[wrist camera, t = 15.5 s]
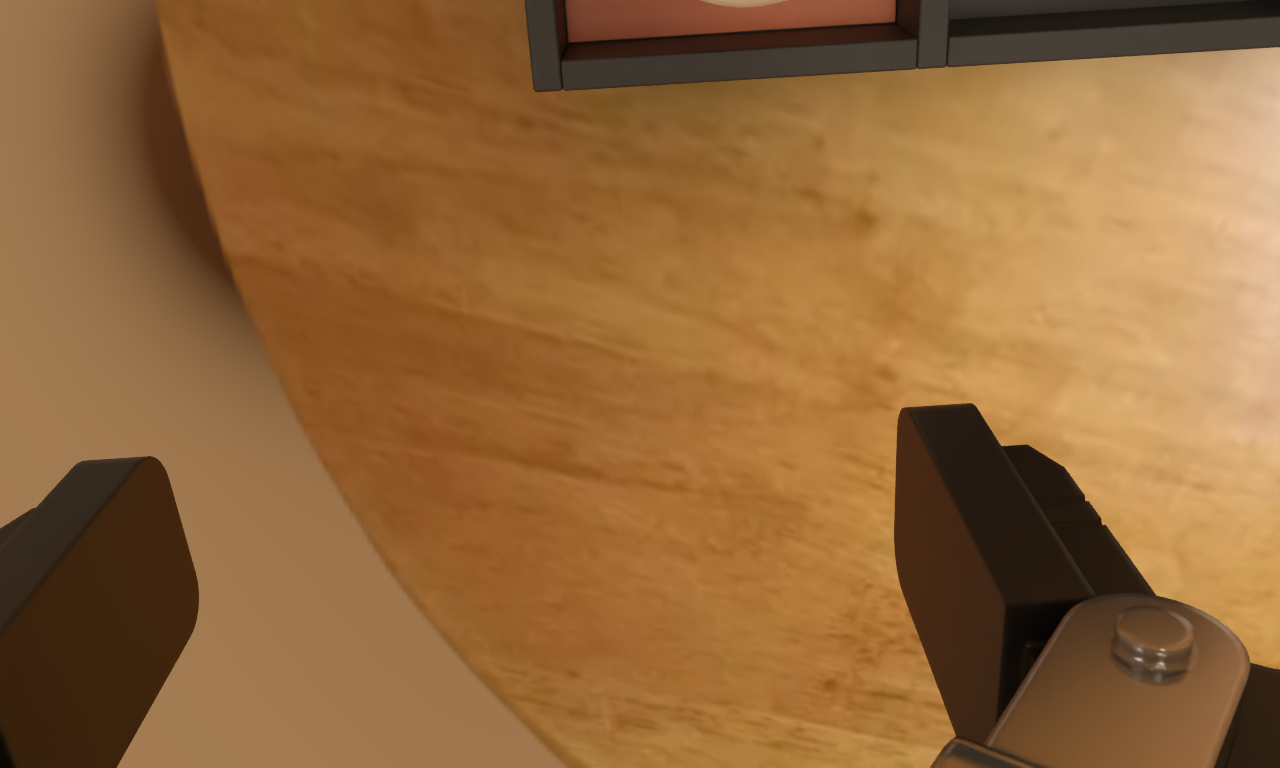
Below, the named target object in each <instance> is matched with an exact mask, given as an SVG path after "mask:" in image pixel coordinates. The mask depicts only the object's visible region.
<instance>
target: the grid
mask: <svg viewBox="0 0 1280 768" xmlns="http://www.w3.org/2000/svg"><path fill="white" fill-rule="evenodd" d="M525 9H526V19H527V29H528V39H529V49H530V59H531V69H532V79H533V89H534V91H535V92H548V91H560V90H562V89H564V90H565V91H568V90H585V89H601V88H617V87H634V86H650V85H666V84H683V83H699V82H715V81H732V80H748V79H764V78H781V77H797V76H813V75H830V74H846V73H863V72H879V71H895V70H912V69H916V68H918V69H927V68H943V67H946V66H947V67H960V66H977V65H993V64H1009V63H1026V62H1042V61H1058V60H1075V59H1091V58H1107V57H1124V56H1140V55H1157V54H1173V53H1189V52H1206V51H1222V50H1238V49H1255V48H1271V47H1280V0H787V1H783V2H779V3H776V4H772V5H766V6H760V7H746V8H738V7H728V6H721V5H715V4H711V3H707V2H704V1H701V0H525Z"/></svg>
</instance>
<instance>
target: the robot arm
mask: <svg viewBox="0 0 1280 768" xmlns="http://www.w3.org/2000/svg"><path fill="white" fill-rule="evenodd" d="M894 545H895V557H896V565H897V572H898V577H899V582H900V586H901V589H902V592H903V595H904V598H905V600H906V603H907V606H908V608H909V611H910V614H911V616H912V619H913V622H914V624H915V627H916V630H917V632H918V635H919V638H920V640H921V643H922V646H923V648H924V651H925V654H926V656H927V659H928V662H929V664H930V667H931V670H932V672H933V675H934V678H935V680H936V683H937V686H938V689H939V691H940V694H941V697H942V699H943V702H944V705H945V707H946V710H947V713H948V715H949V718H950V721H951V723H952V726H953V729H954V731H955V734H956V737H955V738H953V739H952V740H950V741H949V742H948V743H947V744H946V745H945V747H944V748H943V749H942V751H941V752H940V753H939V755H938V756H937V758H936V759H935V761H934V762H933V764H932V765H931V767H930V768H1280V670H1278V669H1273V668H1268V667H1264V666H1261V665H1257V664H1253V663H1250V658H1249V655H1248V652H1247V650H1246V648H1245V646H1244V645H1243V643H1242V642H1241V640H1240V639H1239V638H1238V636H1237V635H1236V634H1235V633H1233V632H1232V631H1231V630H1230V629H1229V628H1228V627H1227V626H1226V625H1224V624H1223V623H1222V622H1220V621H1219V620H1218V619H1216V618H1214V617H1212V616H1211V615H1209V614H1207V613H1205V612H1204V611H1201V610H1199V609H1197V608H1195V607H1192V606H1190V605H1187V604H1184V603H1181V602H1178V601H1176V600H1172V599H1168V598H1163V597H1159V596H1156V594H1155V593H1154V592H1153V590H1152V589H1151V587H1150V586H1149V585H1148V583H1147V582H1146V580H1145V579H1144V578H1143V576H1142V575H1141V573H1140V572H1139V571H1138V569H1137V568H1136V566H1135V565H1134V564H1133V562H1132V561H1131V559H1130V558H1129V557H1128V555H1127V554H1126V553H1125V551H1124V550H1123V548H1122V547H1121V546H1120V544H1119V543H1118V541H1117V540H1116V539H1115V537H1114V536H1113V534H1112V533H1111V532H1110V530H1109V529H1108V527H1107V526H1106V525H1102V522H1101V518H1100V516H1099V515H1098V513H1097V512H1096V511H1095V509H1094V508H1093V507H1092V505H1091V504H1090V502H1089V501H1085V495H1084V494H1083V493H1082V491H1081V490H1080V488H1079V487H1078V486H1077V484H1076V483H1075V481H1074V480H1073V479H1072V477H1071V476H1070V474H1069V473H1068V472H1067V470H1066V469H1065V468H1064V467H1063V466H1061V465H1060V464H1058V463H1056V462H1055V461H1053V460H1051V459H1050V458H1048V457H1047V456H1045V455H1043V454H1042V453H1040V452H1038V451H1037V450H1035V449H1034V448H1032V447H1030V446H1029V445H1014V446H1001V445H1000V444H999V442H998V440H997V439H996V437H995V436H994V434H993V433H992V431H991V429H990V428H989V426H988V425H987V423H986V421H985V420H984V418H983V417H982V415H981V414H980V412H979V410H978V409H977V407H976V406H975V405H974V404H972V403H966V404H951V405H936V406H921V407H906V408H902V409H901V411H900V414H899V419H898V426H897V453H896V486H895V520H894ZM198 606H199V590H198V581H197V577H196V572H195V569H194V565H193V562H192V558H191V555H190V552H189V548H188V544H187V540H186V537H185V533H184V530H183V527H182V523H181V519H180V516H179V512H178V509H177V505H176V502H175V498H174V495H173V491H172V488H171V484H170V481H169V478H168V475H167V472H166V470H165V468H164V467H163V465H162V463H161V462H160V461H159V460H158V459H156V458H155V457H151V456H148V457H133V458H118V459H104V460H89V461H82V462H79V463H77V464H76V465H75V466H74V467H73V468H72V469H71V470H70V471H69V473H68V474H67V475H66V476H65V477H64V478H63V479H62V480H61V481H60V482H59V483H58V484H57V486H56V487H55V488H54V489H53V490H52V491H51V492H50V493H49V494H48V495H47V497H46V498H45V499H44V500H43V501H42V502H41V503H40V504H39V505H38V507H36V508H33V509H31V510H29V511H28V512H26V513H25V514H23V515H21V516H20V517H18V518H16V519H15V520H13V521H12V522H10V523H9V524H7V525H5V526H4V527H2V528H1V529H0V768H117V766H118V764H119V762H120V760H121V759H122V757H123V755H124V753H125V752H126V750H127V748H128V746H129V745H130V743H131V741H132V739H133V737H134V736H135V734H136V732H137V730H138V728H139V727H140V725H141V723H142V721H143V720H144V718H145V716H146V714H147V713H148V711H149V709H150V707H151V706H152V704H153V702H154V700H155V698H156V697H157V695H158V693H159V691H160V690H161V688H162V686H163V684H164V683H165V681H166V679H167V677H168V675H169V674H170V672H171V670H172V668H173V667H174V665H175V663H176V661H177V660H178V658H179V656H180V654H181V652H182V651H183V649H184V647H185V645H186V644H187V642H188V640H189V638H190V636H191V634H192V632H193V630H194V627H195V623H196V620H197V614H198Z"/></svg>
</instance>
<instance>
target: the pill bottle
mask: <svg viewBox="0 0 1280 768" xmlns="http://www.w3.org/2000/svg"><path fill="white" fill-rule="evenodd" d="M701 1H704V2H707V3H711V4H715V5H721V6H728V7H738V8H746V7H760V6H766V5H772V4H776V3H779V2H783V1H787V0H701Z"/></svg>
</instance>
